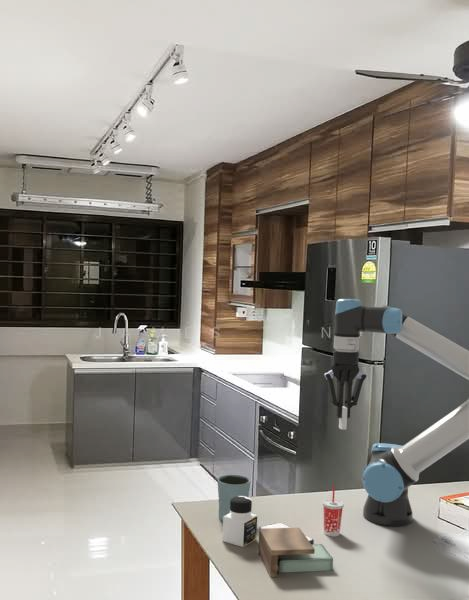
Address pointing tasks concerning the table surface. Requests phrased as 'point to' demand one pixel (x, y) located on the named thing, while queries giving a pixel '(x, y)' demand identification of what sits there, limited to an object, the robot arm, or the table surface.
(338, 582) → the table surface
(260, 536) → the walnut shelf
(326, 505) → the beverage cup
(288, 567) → the bevelled sage-green slab
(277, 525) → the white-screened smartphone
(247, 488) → the teal tapered cup
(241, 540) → the medicine bottle
